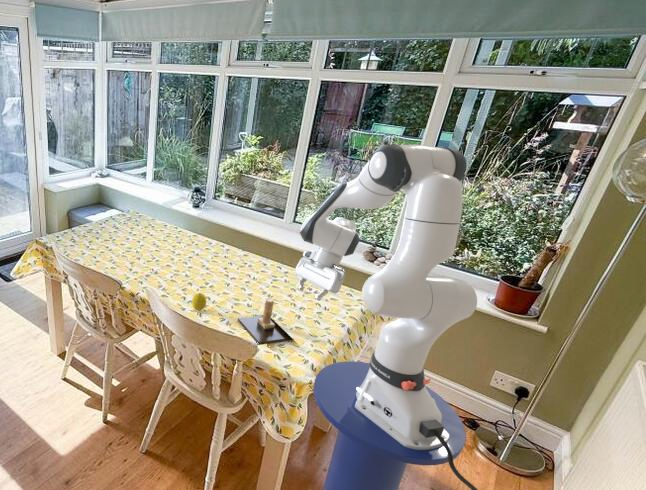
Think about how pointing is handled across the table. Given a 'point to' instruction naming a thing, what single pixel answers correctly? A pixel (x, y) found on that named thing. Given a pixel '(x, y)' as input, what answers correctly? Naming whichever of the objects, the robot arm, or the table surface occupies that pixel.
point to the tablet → (259, 334)
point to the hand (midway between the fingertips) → (308, 294)
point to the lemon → (199, 301)
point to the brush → (267, 316)
